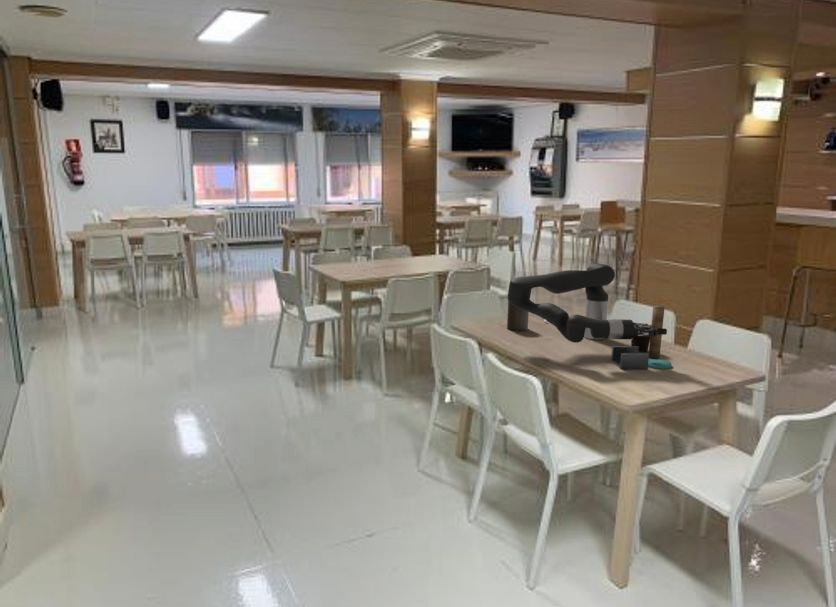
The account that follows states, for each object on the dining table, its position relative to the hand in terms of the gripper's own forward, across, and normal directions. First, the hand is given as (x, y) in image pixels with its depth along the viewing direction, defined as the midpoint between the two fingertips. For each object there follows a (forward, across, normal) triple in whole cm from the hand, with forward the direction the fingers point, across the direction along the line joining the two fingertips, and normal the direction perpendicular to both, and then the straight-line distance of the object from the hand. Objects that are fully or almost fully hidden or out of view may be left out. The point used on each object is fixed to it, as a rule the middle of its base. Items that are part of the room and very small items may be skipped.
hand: (663, 330), depth 242 cm
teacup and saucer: (-25, +73, +15) cm, 79 cm away
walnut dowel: (-3, 0, +11) cm, 11 cm away
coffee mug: (-1, +20, +14) cm, 24 cm away
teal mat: (-1, 0, +14) cm, 14 cm away
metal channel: (-12, 0, +14) cm, 19 cm away
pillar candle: (-45, +57, +14) cm, 74 cm away
